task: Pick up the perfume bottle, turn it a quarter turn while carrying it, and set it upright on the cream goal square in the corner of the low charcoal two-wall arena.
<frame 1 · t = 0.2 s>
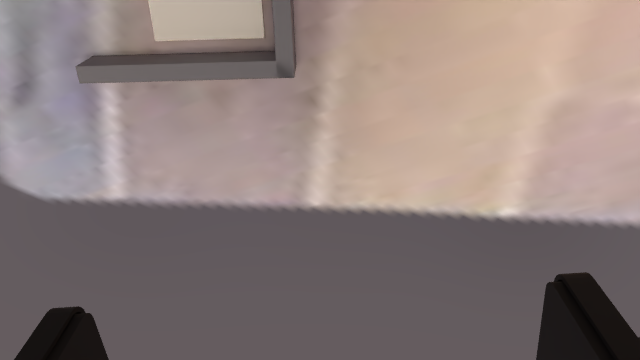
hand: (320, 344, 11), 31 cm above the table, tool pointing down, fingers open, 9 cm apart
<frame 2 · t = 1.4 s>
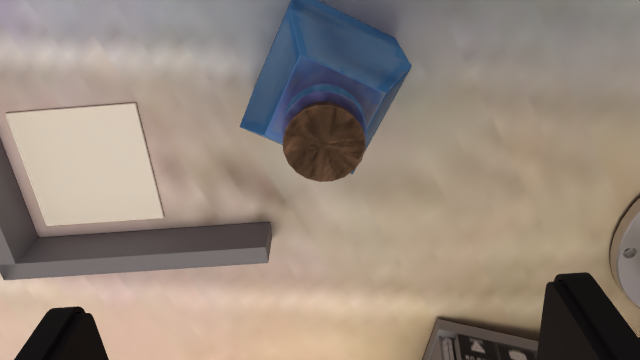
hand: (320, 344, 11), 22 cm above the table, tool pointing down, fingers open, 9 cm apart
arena: (120, 144, 33), on the table
perfume bottle: (322, 63, 31), on the table
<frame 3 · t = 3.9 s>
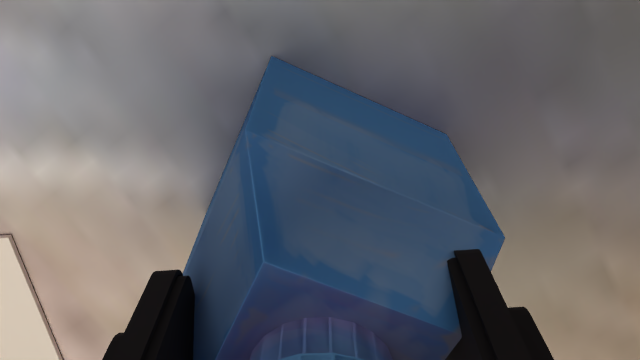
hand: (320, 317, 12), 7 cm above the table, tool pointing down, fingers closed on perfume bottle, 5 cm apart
perfume bottle: (321, 173, 18), on the table, touching gripper
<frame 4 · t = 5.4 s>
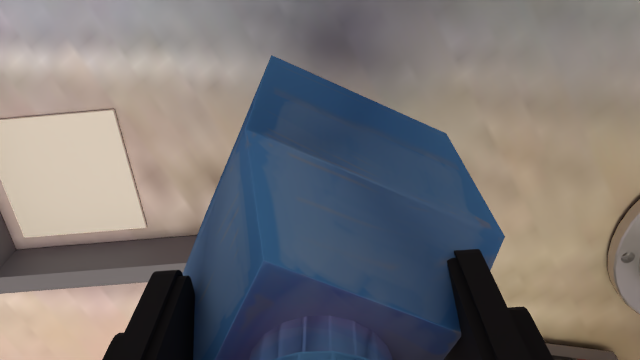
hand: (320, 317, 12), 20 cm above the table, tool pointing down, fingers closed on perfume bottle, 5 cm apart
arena: (99, 152, 32), on the table
perfume bottle: (321, 172, 18), point 13 cm above the table, touching gripper
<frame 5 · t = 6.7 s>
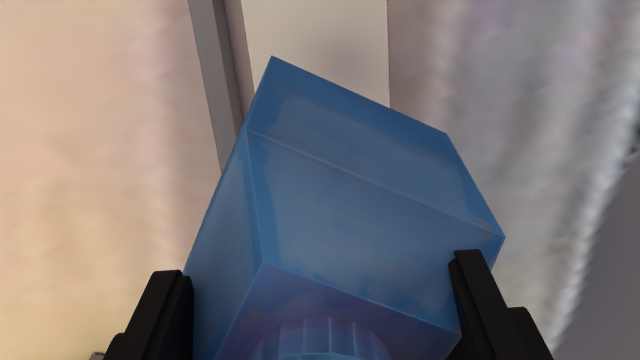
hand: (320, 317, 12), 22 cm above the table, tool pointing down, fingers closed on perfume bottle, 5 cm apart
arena: (346, 99, 32), on the table
perfume bottle: (321, 172, 18), point 14 cm above the table, touching gripper
when the fingers open (8 cm above the table, at t = 9.6 s): perfume bottle drops 1 cm, resting on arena.
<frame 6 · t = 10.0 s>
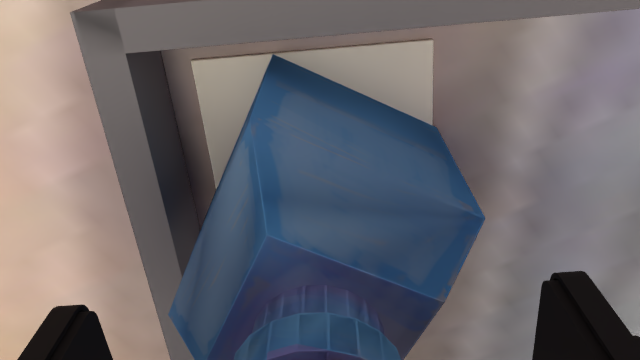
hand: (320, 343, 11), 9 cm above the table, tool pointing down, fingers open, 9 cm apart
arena: (362, 212, 20), on the table
perfume bottle: (319, 164, 19), resting on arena
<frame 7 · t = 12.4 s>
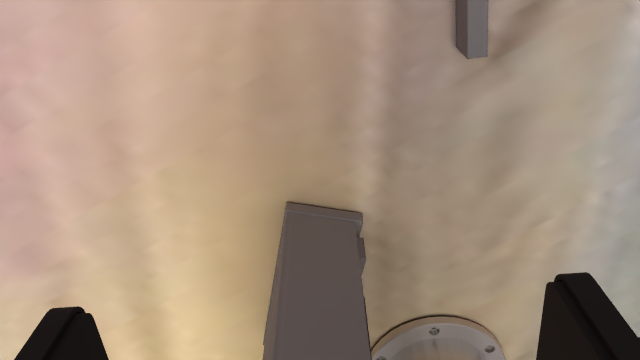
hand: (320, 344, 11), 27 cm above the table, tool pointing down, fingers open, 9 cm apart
cassette tape recorder: (311, 275, 44), on the table
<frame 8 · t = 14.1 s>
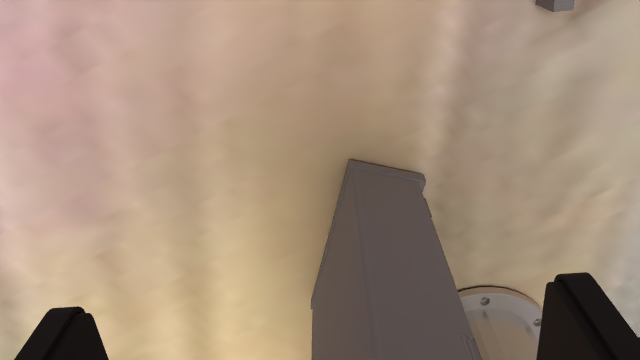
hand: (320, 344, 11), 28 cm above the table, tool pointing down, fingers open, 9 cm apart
cassette tape recorder: (364, 238, 44), on the table
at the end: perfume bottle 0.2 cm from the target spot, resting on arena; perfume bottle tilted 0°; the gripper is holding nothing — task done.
